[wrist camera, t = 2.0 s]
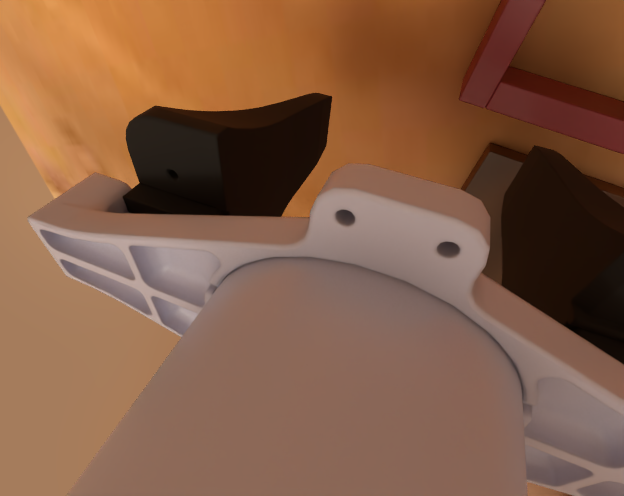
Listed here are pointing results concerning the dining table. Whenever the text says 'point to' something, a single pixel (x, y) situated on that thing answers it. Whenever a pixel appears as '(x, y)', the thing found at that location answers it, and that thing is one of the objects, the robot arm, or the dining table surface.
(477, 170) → the stand
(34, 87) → the dining table surface
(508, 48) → the square frame
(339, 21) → the dining table surface
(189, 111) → the robot arm
